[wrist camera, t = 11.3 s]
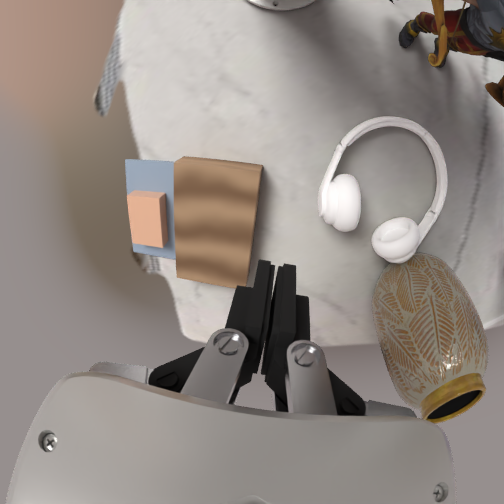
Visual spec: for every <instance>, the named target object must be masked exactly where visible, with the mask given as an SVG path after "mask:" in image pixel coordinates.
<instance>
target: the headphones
mask: <svg viewBox="0 0 504 504" xmlns="http://www.w3.org/2000/svg"><path fill="white" fill-rule="evenodd" d="M386 126H397V127H402V128H405V129H408V130H410V131H412V132H414V133H416V134H417V135H419V136H420V137H421V138H422V140H423V141H424V142H425V143H426V145H427V147H428V148H429V150H430V152H431V155H432V157H433V160H434V163H435V168H436V175H437V186H436V193H435V197H434V200H433V202H432V205H431V207H430V209H429V210H428V211H427V213H426V214H425V216H424V218H423V220H422V221H421V223H420V224H419V226H417V224H416V222H414V221H413V220H412V219H410V218H407V217H398V218H394V219H391V220H388V221H386V222H384V223H383V224H381V225H380V226H379V227H377V228H376V230H375V231H374V233H373V235H372V240H371V242H372V246H373V249H374V250H375V252H376V253H377V254H378V255H379V256H380V257H382V258H385V259H386V260H387V261H388V262H391V263H403V262H406V261H408V260H409V259H410V258H411V257H412V256H413V255H414V253H415V252H416V249H417V247H418V246H419V245H420V243H421V242H422V240H423V239H424V237H425V236H426V234H427V233H428V231H429V230H430V228H431V227H432V225H433V224H434V223H435V221H436V220H437V217H438V216H439V214H440V212H441V210H442V207H443V205H444V202H445V198H446V193H447V185H448V175H447V167H446V162H445V159H444V156H443V153H442V151H441V148H440V146H439V144H438V143H437V141H436V140H435V139H434V137H433V136H432V135H431V134H430V133H429V132H428V131H427V130H426V129H425V128H423V127H422V126H421V125H419V124H418V123H416V122H414V121H412V120H409V119H406V118H402V117H396V116H383V117H377V118H373V119H370V120H367V121H365V122H363V123H361V124H359V125H357V126H356V127H354V128H353V129H352V130H351V131H349V132H348V133H347V134H346V135H345V137H344V138H343V139H342V140H341V141H340V143H339V144H338V146H337V147H336V149H335V153H334V155H333V157H332V160H331V162H330V164H329V167H328V169H327V171H326V174H325V176H324V178H323V181H322V183H321V186H320V188H319V191H318V213H319V216H321V217H323V218H324V220H325V222H326V223H327V224H333V226H334V227H335V228H336V229H337V230H339V231H343V232H348V231H352V230H354V229H355V228H356V227H357V225H358V223H359V219H360V214H361V193H360V188H359V184H358V181H357V179H356V178H355V177H353V176H352V175H349V174H340V175H338V176H336V177H335V178H334V179H333V180H332V181H331V179H332V177H333V175H334V172H335V170H336V168H337V165H338V163H339V161H340V158H341V156H342V154H343V152H344V150H345V149H346V146H347V145H348V146H350V145H351V144H352V143H353V142H354V141H355V140H356V139H357V138H359V137H360V136H362V135H363V134H365V133H367V132H368V131H371V130H373V129H376V128H380V127H386Z"/></svg>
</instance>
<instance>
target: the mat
mask: <svg viewBox="0 0 504 504" xmlns="http://www.w3.org/2000/svg"><path fill="white" fill-rule="evenodd" d="M125 166H126V184H127V195H128V194H130V193H131V192H132V191H134V190H139V191H152V192H163V193H166V214H167V230H168V242H167V243H166V244H165V246H164V247H163V248H160V247H154V246H148V245H141V244H135V243H133V241H132V243H133V250H134V252H138V253H144V254H149V255H154V256H159V257H165V258H170V259H176V255H175V233H174V162H168V161H152V160H129V159H126V160H125ZM131 236H132V234H131Z"/></svg>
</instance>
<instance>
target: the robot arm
mask: <svg viewBox="0 0 504 504" xmlns="http://www.w3.org/2000/svg"><path fill="white" fill-rule="evenodd" d="M247 1H249V2H250V3H252V4H254V5H257V6H259V7H262V8H266V9H270V10H294V9H298V8H302V7H305V6H307V5H309V4H311V3H313V2H314V1H316V0H247ZM274 5H278V6H274ZM270 264H271V261H265V260H259V261H258V267H257V272H256V277H255V282H254V287H253V288H251V287H245V286H239V285H237V287H236V290H235V294H234V297H233V301H232V305H231V308H230V312H229V315H228V319H227V323H226V326H225V329H220V330H218V331H216V332H214V333H213V334H212V335H211V337H210V338H209V340H208V342H207V344H206V346H205V347H203V348H201V349H199V350H196V351H194V352H192V353H190V354H187V355H185V356H183V357H180V358H178V359H176V360H173V361H171V362H168V363H166V364H164V365H161V366H159V367H157V368H155V369H148V368H147V367H145V366H135V365H127V364H118V363H110V362H98V363H96V364H94V365H93V366H92V367H91V368H90V370H89V371H87V372H75V373H71V374H68V375H66V376H64V377H63V378H61V379H60V380H59V381H58V382H57V383H56V384H55V386H54V387H53V388H52V389H51V391H50V392H49V394H48V395H47V397H46V398H45V400H44V402H43V403H42V405H41V407H40V409H39V411H38V413H37V415H36V416H35V418H34V421H33V422H32V425H31V427H30V429H29V432H28V434H27V436H26V439H25V441H24V443H23V446H22V448H21V451H20V453H19V456H18V459H17V462H16V465H15V469H14V472H13V475H12V478H11V482H10V486H9V490H8V494H7V500H6V504H456V483H455V471H454V464H453V458H452V453H451V449H450V445H449V441H448V439H447V436H446V434H445V432H444V431H443V430H442V429H441V428H440V427H439V426H438V425H436V424H434V423H432V422H430V421H427V420H424V419H420V418H417V416H416V415H415V413H414V412H413V411H412V410H411V409H409V408H406V407H401V406H396V405H391V404H386V403H381V402H376V401H372V400H369V401H368V402H366V401H363V399H362V398H361V397H360V396H359V395H358V394H357V393H355V392H354V391H353V390H352V389H351V388H350V387H349V386H347V385H346V384H345V383H344V382H343V381H342V380H340V379H339V378H338V377H337V376H336V375H335V374H334V373H333V372H332V371H330V370H329V369H328V368H327V364H326V360H325V355H324V353H323V351H322V349H321V348H320V347H319V346H318V345H317V344H315V343H314V342H311V341H310V316H309V298H308V297H307V296H301V295H296V265H290V264H284V265H283V267H282V266H279V267H278V272H277V276H276V281H275V286H274V291H273V295H272V289H273V280H274V271H275V265H270ZM271 298H272V300H271ZM264 343H265V346H264ZM263 347H264V354H263V362H262V369H261V374H263V375H265V382H266V383H267V385H268V386H269V387H270V388H271V389H272V405H273V411H269V410H262V409H255V408H248V407H242V406H236V405H235V403H236V400H237V398H238V395H239V393H240V390H241V387H242V386H243V385H245V384H247V383H249V382H250V381H251V378H252V374H253V373H256V374H257V371H258V367H259V363H260V359H261V355H262V351H263Z"/></svg>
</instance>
